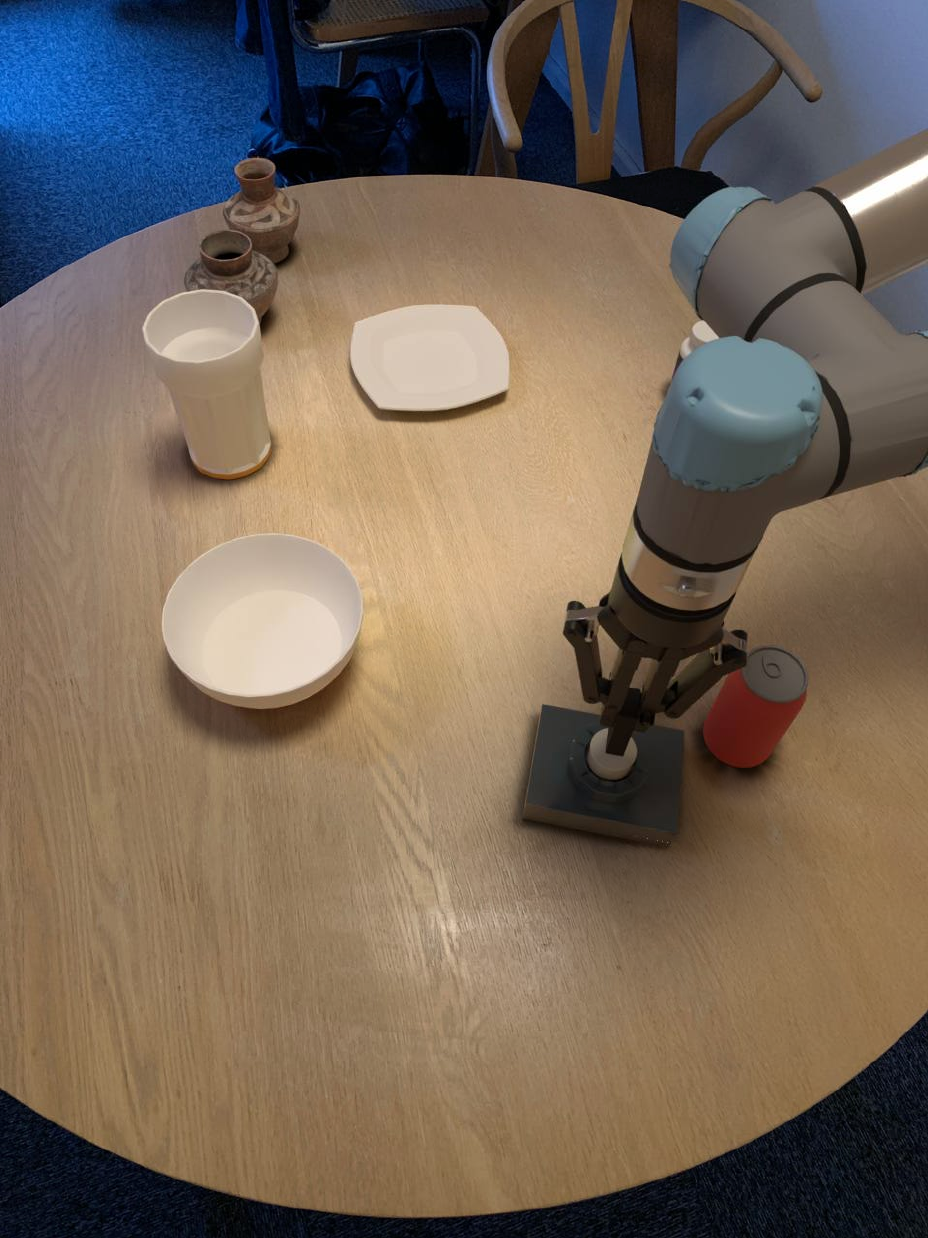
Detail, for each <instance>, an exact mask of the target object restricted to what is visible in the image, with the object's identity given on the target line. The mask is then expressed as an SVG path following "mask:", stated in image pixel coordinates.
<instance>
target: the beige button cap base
mask: <svg viewBox="0 0 928 1238" xmlns="http://www.w3.org/2000/svg"><path fill="white" fill-rule="evenodd" d="M607 728H608V726H603V725H601V724H600V714H598V713H593V712H587V711H582V710H577V709H571V708H566V707H560V706H555V705H550V704H544V703H542V704H541V709H540V714H539V719H538V724H537V729H536V734H535V741H534V747H533V753H532V759H531V763H530V764H531V765H530V771H529V776H528V783H527V788H526V794H525V800H524V806H523V811H522V819H523V820H528V821H533V822H539V823H543V824H547V825H548V824H549V825H554V826H559V827H563V828H568V829H573V830H578V831H585V832H589V833H594V834H600V835H604V836H609V837H615V838H620V839H625V840H628V841H629V840H630V841H636V842H640V843H645V844H650V845H655V846H660V847H665V848H671V846H672V844H673V843H674V840H675V839H676V837H677V835H678V833H679V819H680V805H681V803H680V802H681V789H682V774H683V761H684V760H683V758H684V746H685V729H679V728H673V727H668V726H663V725H657V724H654V725H653V726H651V727H648V729H647V731H645V732H644V733H642V732H637V731H633V733H632V736H631V737H632V739H633V740H634V742H635V744H636V747H637V756H636V759H635V762H634V764H633V766H632V769H631V771H630V772H629V773H628V774H627V775H626V776H625V777H623V778H621V779H618V780H606V779H603V778H601V777H599V776H597V775H596V774H595V773H594V772H593V771H592V770H591V769H590V767H589V765H588V762H587V752H588V749H589V746H590V743H591V740H592V738H593V736H594V735H595V734H596V733H597V732H599V731H601V730H603V729H607ZM636 836H637V837H636ZM647 838H648V839H647ZM657 840H658V841H657ZM662 841H663V842H662ZM667 842H668V843H667Z"/></svg>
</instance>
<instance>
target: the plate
mask: <svg viewBox="0 0 928 1238" xmlns="http://www.w3.org/2000/svg"><path fill="white" fill-rule="evenodd" d="M349 346H350V347H349V359H350V366H351V368H352V371H353V373H354V376H355V378H356V379H357V380H358V383H359V385H360V386H361V388H362V389H363V390H364V392H365V393H366V394H367V395H368V398H369V399H371V401H372V402H373V403H374V404H375V406H376V407H377V408H378V409H379V410H384V411H385V410H386V411H400V412H436V411H448V410H453V409H457V408H462V407H465V406H469V405H471V404H472V405H473V404H475V403H478V402H482V401H484V400H487V399H490V398H493V397H495V396H498V395H500V394H502V393H504V392H507V391H509V390H510V378H511V361H510V354H509V350H508V347H507V343H506V341H505V340H504V338H503V336H502V334H501V333H500V332H499V330H498V329H497V328H496V327H495V325H494V323H492V322H491V321H490V320H489V318H487V316H486V315H485V314H484V313H483V312H481V310H480V309H479V308H478V307H477V306H475V305H461V304H417V305H416V304H415V305H409V306H404V307H399V308H396V309H395V308H394V309H392V310H388V311H384V312H381V313H377V314H375V315H371V316H369V317H366V318H363V319H361V320H358V321H355V322H354V325H353V329H352V333H351V339H350V345H349Z"/></svg>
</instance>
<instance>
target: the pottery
mask: <svg viewBox="0 0 928 1238" xmlns="http://www.w3.org/2000/svg"><path fill="white" fill-rule="evenodd" d="M233 171H234V175H235V177H236V178H237V181H238V183H239V186H240V188H241V190H239V191H238V192H236V193H235V194H233V195H232V196H231V197H229V199H228V200H227V201H226V203H225V204H224V206H223V208H222V216H223V219H224V221H225V223H226V226H227V227H228V229H220V230H216V231H212V232H210V233H208V234H207V235H205V236H204V237H203V238H201V240H200V242H199V245H198V247H199V249H198V250H199V255H200V257H199V258H198V259H196V260H195V261H194V262H193V263H192V264H191V265H190V266H189V268H188V269H187V270H186V272H185V274H184V277H183V284H184V288H185V290H186V291H185V292H190V291H195V290H201V289H206V290H218V291H225V292H228V293H231V294H234V295H236V296H239V297H242V298H243V299H244V300H245V301H246V302H247V303H249V304H250V305H251V306H252V307H253V308H254V309H255V312H256V315H257V318H258V321H259V325H260V324H261V322H262V320H263V319H262V317H263V316H264V314H266V312H268V310H269V309H270V307H271V305H272V304H273V301H274V299H275V297H276V293H277V291H278V284H279V272H278V268H277V266H276V264H277V263H280V262H281V261H283V260H284V259H286V258H287V257H288V255H289V253H290V252H289V250H290V249H289V246H288V245H289V244H290V243H291V241H292V239H293V238H294V236H295V235H296V232H297V229H298V226H299V222H300V215H301V205H300V203H299V201H298V199H296V198H295V196H293V195H292V194H291V193H290V192H288V191H286V190H283V189H282V188H279V187H276V186H275V185H276V184H275V183H276V182H275V179H276V165H275V163H274V162H273V161H272V160H269V159H267V158H262V157H249V158H246V159H243V160H241V161H240V162H238V163H237V164H236V165H235V166H234V170H233Z"/></svg>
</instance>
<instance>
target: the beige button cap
mask: <svg viewBox="0 0 928 1238" xmlns="http://www.w3.org/2000/svg"><path fill="white" fill-rule="evenodd" d="M607 735H608V728H607V729H603V730H601V731H599V732H597V733H596V734H595V735H594V736H593V738H592V740H591V743H590V746H589V749H588V752H587V762H588V765H589V767H590V769H591V770H592V771H593V772H594V773H595V774H596V775H597V776H599V777H601V778H603V779H606V780H618V779H621V778H623V777H625V776H626V775H627V774H628V773H629V772H630V771H631V769H632V766H633V764H634V762H635V759H636V756H637V747H636V744H635V742H634V740H633V739H632V737H631V738H630V741H629V743H628V746H627V748H626V751H625V753H624V756H623V757H622V756H617V755H612V754H607V753H605V752H606V744H607Z"/></svg>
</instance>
